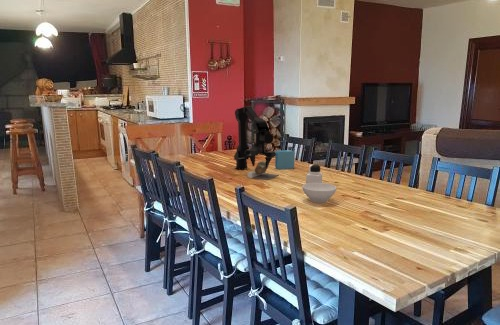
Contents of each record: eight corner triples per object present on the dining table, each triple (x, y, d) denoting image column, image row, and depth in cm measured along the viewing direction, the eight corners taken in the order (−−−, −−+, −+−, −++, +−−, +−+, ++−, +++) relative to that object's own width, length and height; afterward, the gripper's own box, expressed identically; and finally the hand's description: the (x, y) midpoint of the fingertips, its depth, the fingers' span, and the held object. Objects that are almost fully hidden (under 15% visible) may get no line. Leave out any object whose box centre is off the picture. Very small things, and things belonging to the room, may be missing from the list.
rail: (247, 177, 229) (247, 172, 228) (261, 172, 242) (261, 168, 241) (251, 178, 227) (251, 173, 227) (265, 173, 240) (265, 168, 240)
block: (254, 170, 231) (258, 162, 228) (260, 168, 237) (264, 160, 234) (259, 174, 229) (263, 166, 227) (265, 172, 235) (269, 164, 233)
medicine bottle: (322, 185, 210) (322, 164, 207) (318, 188, 203) (319, 166, 201) (309, 184, 213) (310, 163, 210) (305, 187, 206) (306, 165, 204)
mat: (252, 177, 228) (252, 177, 228) (264, 173, 240) (264, 173, 240) (267, 180, 223) (267, 179, 223) (278, 175, 234) (278, 175, 234)
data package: (291, 167, 259) (292, 150, 257) (294, 168, 255) (294, 151, 253) (275, 168, 256) (275, 150, 253) (277, 169, 251) (277, 151, 249)
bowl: (315, 207, 171) (315, 192, 169) (295, 198, 185) (295, 184, 183) (343, 203, 178) (343, 188, 177) (321, 194, 192) (322, 181, 191)
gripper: (239, 141, 228) (239, 167, 231) (266, 144, 218) (266, 171, 221) (249, 139, 237) (249, 164, 240) (276, 142, 227) (275, 167, 230)
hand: (259, 167), depth 232 cm, fingers open, 9 cm apart
